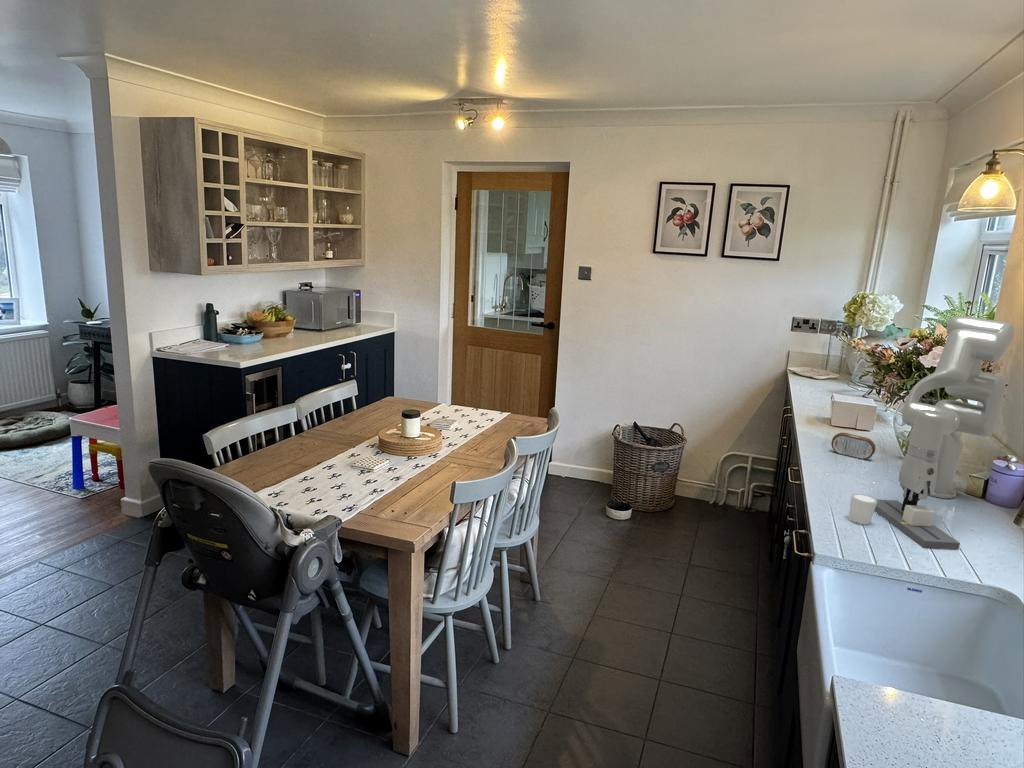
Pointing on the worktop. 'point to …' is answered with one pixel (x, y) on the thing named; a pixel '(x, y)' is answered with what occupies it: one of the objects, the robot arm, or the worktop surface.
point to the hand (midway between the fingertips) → (907, 511)
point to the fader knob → (918, 515)
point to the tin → (853, 446)
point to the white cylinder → (862, 508)
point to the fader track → (915, 527)
